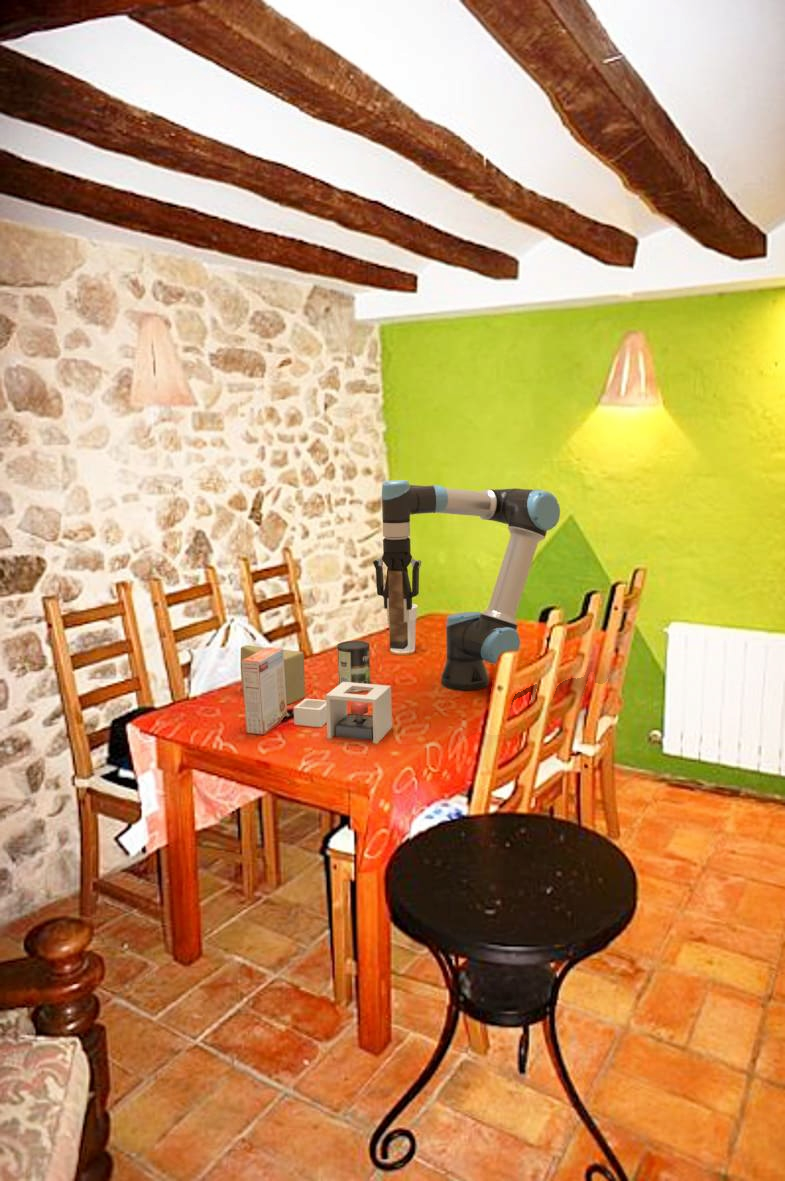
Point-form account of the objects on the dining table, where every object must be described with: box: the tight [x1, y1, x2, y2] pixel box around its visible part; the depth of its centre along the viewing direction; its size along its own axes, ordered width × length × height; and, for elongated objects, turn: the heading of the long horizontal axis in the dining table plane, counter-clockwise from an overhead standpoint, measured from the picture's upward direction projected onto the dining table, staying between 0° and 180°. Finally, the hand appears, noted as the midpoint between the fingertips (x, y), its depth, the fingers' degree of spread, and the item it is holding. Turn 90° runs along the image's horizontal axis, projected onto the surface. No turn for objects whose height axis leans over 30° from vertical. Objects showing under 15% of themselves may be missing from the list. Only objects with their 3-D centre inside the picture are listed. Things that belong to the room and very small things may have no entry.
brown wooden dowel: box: [388, 569, 408, 649], centre depth 224 cm, size 4×4×22 cm
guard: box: [325, 682, 393, 745], centre depth 216 cm, size 14×12×12 cm
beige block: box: [240, 644, 306, 705], centre depth 248 cm, size 22×10×15 cm, turn 57°
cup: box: [386, 603, 418, 656], centre depth 295 cm, size 11×11×17 cm
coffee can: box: [336, 640, 371, 693], centre depth 255 cm, size 10×10×14 cm
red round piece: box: [350, 701, 369, 723], centre depth 216 cm, size 5×5×6 cm
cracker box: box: [240, 646, 288, 736], centre depth 222 cm, size 14×6×21 cm, turn 160°
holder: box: [293, 698, 327, 728], centre depth 226 cm, size 8×8×5 cm
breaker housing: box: [335, 712, 373, 742], centre depth 217 cm, size 10×9×4 cm
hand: (398, 620), depth 225 cm, fingers closed on brown wooden dowel, 4 cm apart
